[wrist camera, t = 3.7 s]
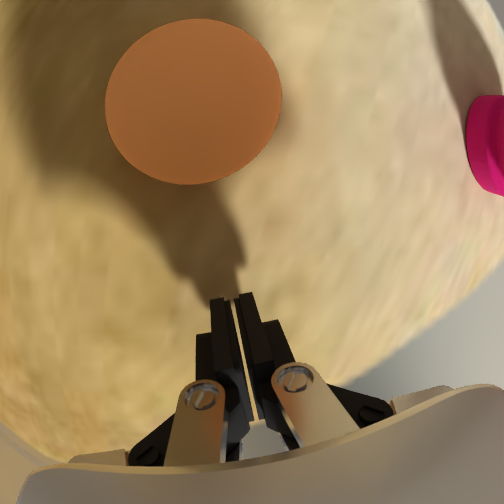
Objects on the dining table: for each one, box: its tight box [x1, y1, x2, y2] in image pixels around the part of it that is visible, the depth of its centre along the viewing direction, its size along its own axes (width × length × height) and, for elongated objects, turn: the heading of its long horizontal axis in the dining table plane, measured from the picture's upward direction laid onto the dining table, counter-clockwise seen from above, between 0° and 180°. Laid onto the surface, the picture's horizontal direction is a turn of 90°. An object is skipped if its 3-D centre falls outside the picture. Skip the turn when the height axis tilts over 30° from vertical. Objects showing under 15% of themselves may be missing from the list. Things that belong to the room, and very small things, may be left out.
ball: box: [105, 19, 282, 185], centre depth 7 cm, size 5×5×5 cm
